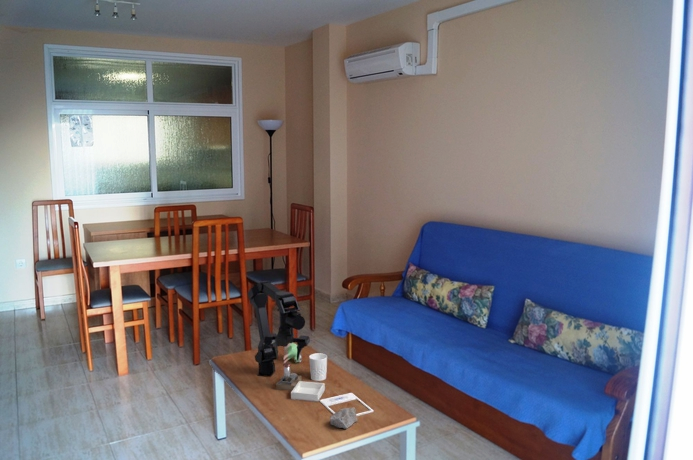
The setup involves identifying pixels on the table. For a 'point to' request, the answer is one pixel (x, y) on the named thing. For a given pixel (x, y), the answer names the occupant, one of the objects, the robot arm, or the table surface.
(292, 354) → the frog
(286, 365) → the pin
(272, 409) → the table surface
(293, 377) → the block
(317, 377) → the white cup
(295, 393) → the tray
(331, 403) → the photo frame
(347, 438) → the table surface
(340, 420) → the stone
